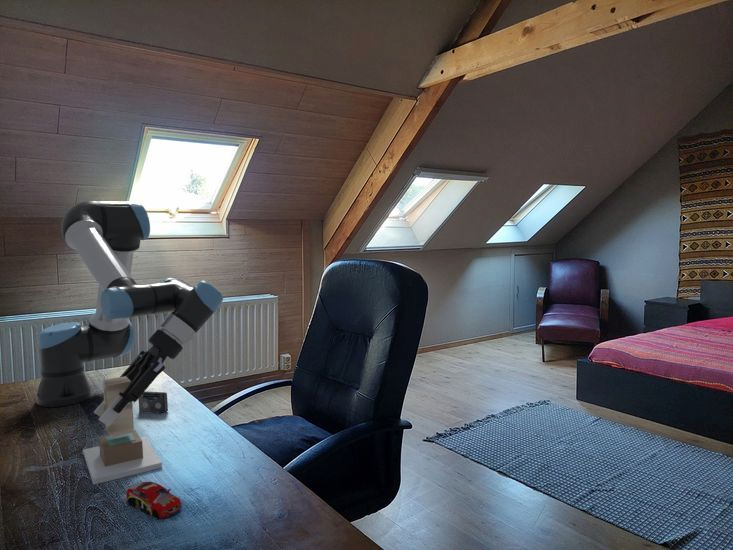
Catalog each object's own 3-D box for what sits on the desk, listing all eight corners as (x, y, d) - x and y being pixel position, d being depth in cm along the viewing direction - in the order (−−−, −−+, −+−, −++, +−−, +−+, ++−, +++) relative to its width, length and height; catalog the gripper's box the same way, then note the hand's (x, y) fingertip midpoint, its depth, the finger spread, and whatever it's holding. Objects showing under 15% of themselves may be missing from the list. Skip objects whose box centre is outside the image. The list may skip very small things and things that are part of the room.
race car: (186, 511, 105) (186, 492, 105) (161, 524, 101) (160, 504, 100) (147, 491, 113) (146, 473, 112) (122, 502, 109) (121, 483, 108)
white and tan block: (83, 454, 131) (81, 432, 130) (145, 440, 138) (144, 420, 138) (93, 484, 116) (91, 460, 115) (162, 467, 123) (160, 444, 123)
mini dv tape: (168, 412, 159) (167, 391, 158) (165, 413, 157) (164, 393, 157) (142, 410, 160) (141, 390, 160) (139, 412, 159) (138, 392, 158)
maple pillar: (105, 430, 127) (102, 380, 125) (128, 425, 130) (125, 376, 128) (110, 437, 123) (107, 385, 121) (134, 432, 126) (131, 381, 124)
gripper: (195, 353, 126) (123, 440, 118) (172, 340, 140) (106, 416, 133) (171, 334, 122) (95, 422, 114) (149, 322, 137) (80, 399, 129)
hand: (101, 419), depth 124 cm, fingers closed on maple pillar, 5 cm apart
